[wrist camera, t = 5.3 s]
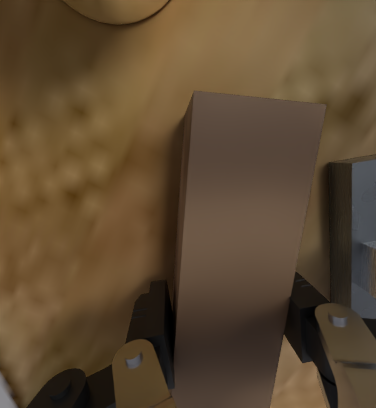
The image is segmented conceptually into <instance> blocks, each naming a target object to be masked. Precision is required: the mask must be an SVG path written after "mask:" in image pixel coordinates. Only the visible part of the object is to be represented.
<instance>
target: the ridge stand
mask: <svg viewBox="0 0 376 408" xmlns="http://www.w3.org/2000/svg"><path fill="white" fill-rule="evenodd" d="M329 215H330V271H331V303H335V304H340V305H343V306H346V307H348V308H350V309H352V310H354V311H355V312H357V313H358V314H359V315H360V317H361V318H370V319H376V155H369V156H363V157H357V158H351V159H345V160H339V161H333V162H329Z"/></svg>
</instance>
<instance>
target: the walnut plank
mask: <svg viewBox="0 0 376 408" xmlns="http://www.w3.org/2000/svg"><path fill="white" fill-rule="evenodd" d="M326 106H327V104H317V103H308V102H298V101H288V100H279V99H269V98H259V97H250V96H240V95H230V94H221V93H211V92H202V91H194V92H193V95H192V97H191V100H190V103H189V105H188V108H187V110H186V113H185V121H184V135H183V150H182V164H181V179H180V193H179V208H178V222H177V237H176V252H175V266H174V281H173V295H172V315H173V366H174V374H175V389H170V390H169V393H170V396H171V395H172V396H173V398H174V401H175V403H176V406H177V408H270V404H271V399H272V393H273V388H274V383H275V377H276V372H277V367H278V361H279V356H280V351H281V345H282V340H283V335H284V329H285V324H286V319H287V313H288V308H289V303H290V298H289V297H290V296H291V292H292V287H293V282H294V276H295V271H296V266H297V260H298V255H299V250H300V244H301V239H302V234H303V228H304V223H305V218H306V212H307V207H308V202H309V196H310V191H311V186H312V180H313V175H314V170H315V164H316V159H317V154H318V148H319V143H320V138H321V132H322V127H323V122H324V116H325V111H326Z"/></svg>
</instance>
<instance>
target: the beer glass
mask: <svg viewBox="0 0 376 408" xmlns="http://www.w3.org/2000/svg"><path fill="white" fill-rule="evenodd" d="M63 1H64V2H65V3H66V4H67V5H69V6H70V7H71V8H73V9H74V10H75V11H77V12H78V13H80V14H82V15H84V16H86V17H88V18H90V19H93V20H95V21H98V22H102V23H107V24H130V23H134V22H138V21H141V20H143V19H146V18H148V17H150V16H151V15H153V14H154V13H156V12H157V11H159V10H160V9H161V8H162V7H163V6H164V5H165V4H166V3H167V2H168V1H169V0H63Z"/></svg>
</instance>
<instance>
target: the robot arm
mask: <svg viewBox="0 0 376 408" xmlns="http://www.w3.org/2000/svg"><path fill="white" fill-rule="evenodd" d="M289 298H290V303H289V308H288V313H287V319H286V324H285V329H284V335H285V337H286V338H287V340H288V341H289V343H290V344H291V346H292V347H293V349H294V351H295V352H296V354H297V355H298V357H299V358H300V360H301V362H302V363H306V362H311V361H313V362H314V364H315V365H316V366H317V378H318V381H319V384H320V388H321V391H322V394H323V397H324V401H325V404H326V407H327V408H376V319H370V318H361V317H360V315H359V314H358V313H357V312H355V311H354V310H352V309H350V308H348V307H346V306H343V305H340V304H335V303H330V302H329V301H328V300H327V299H326V298H325V297H324V296H323V295H321V294H320V293H319V292H318V291H317V290H316V289H315V288H314V287H313V286H311V285H310V284H309V283H308V282H307V281H306V280H305V279H304V278H303V277H302V276H301V275H300V274H299V273H297V272H295V276H294V282H293V287H292V292H291V296H290V297H289ZM170 389H175V374H174V366H173V315H172V306H171V301H170V296H169V291H168V285H167V281H166V279H165V280H159V281H154V282H151V284H150V291H149V293H147V294H142V295H140V297H139V298H138V299H137V301H136V302H135V305H134V309H133V314H132V319H131V322H130V326H129V331H128V335H127V339H126V343H125V345H124V346H122V347H121V348H120V349H119V350H118V351H117V353H116V354H115V356H114V358H113V361H112V364H111V365H110V366H108V367H107V368H105V369H103V370H101V371H99V372H97V373H95V374H92V375H90V376H88V377H86V375H85V373H84V372H83V371H82V370H80V369H76V368H75V369H68V370H65V371H63V372H61V373H59V374H57V375H56V376H54V377H53V378H52V379H50V380H49V381H48V382H47V383H46V384H45V385H44V386H43V387H42V389H41V390H40V391H39V392H38V394H37V395H36V396H35V397H34V399H33V400H32V401H31V403H30V404H29V405H28V406H27V408H177V406H176V403H175V401H174V398H173V396H172V395H171V396H170V393H169V390H170Z"/></svg>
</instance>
